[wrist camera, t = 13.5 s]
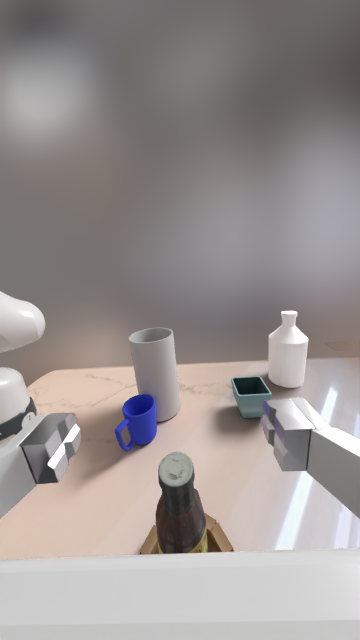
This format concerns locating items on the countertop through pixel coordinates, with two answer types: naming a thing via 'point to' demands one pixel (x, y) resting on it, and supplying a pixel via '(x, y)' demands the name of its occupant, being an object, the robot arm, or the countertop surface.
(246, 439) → the countertop surface
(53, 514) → the countertop surface
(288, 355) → the bottle
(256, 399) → the flower pot
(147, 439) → the mug
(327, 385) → the countertop surface
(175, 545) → the sauce bottle
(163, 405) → the cylinder vase
